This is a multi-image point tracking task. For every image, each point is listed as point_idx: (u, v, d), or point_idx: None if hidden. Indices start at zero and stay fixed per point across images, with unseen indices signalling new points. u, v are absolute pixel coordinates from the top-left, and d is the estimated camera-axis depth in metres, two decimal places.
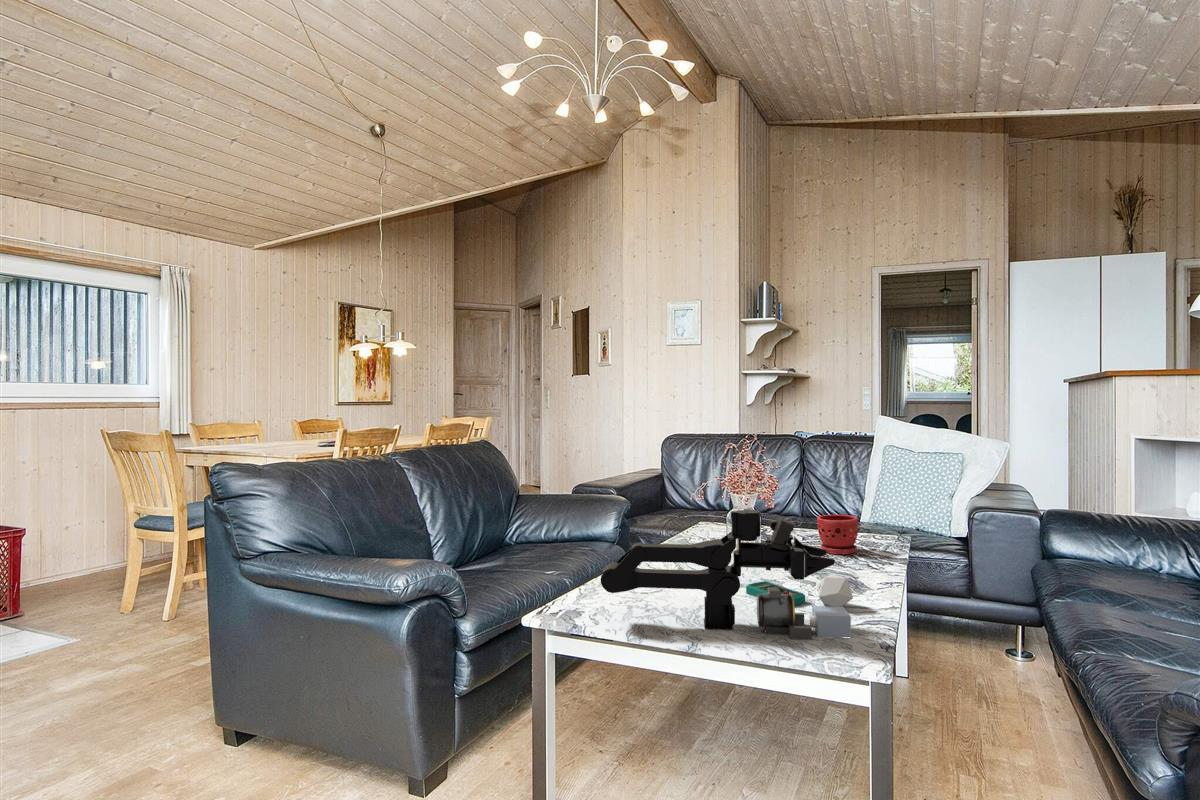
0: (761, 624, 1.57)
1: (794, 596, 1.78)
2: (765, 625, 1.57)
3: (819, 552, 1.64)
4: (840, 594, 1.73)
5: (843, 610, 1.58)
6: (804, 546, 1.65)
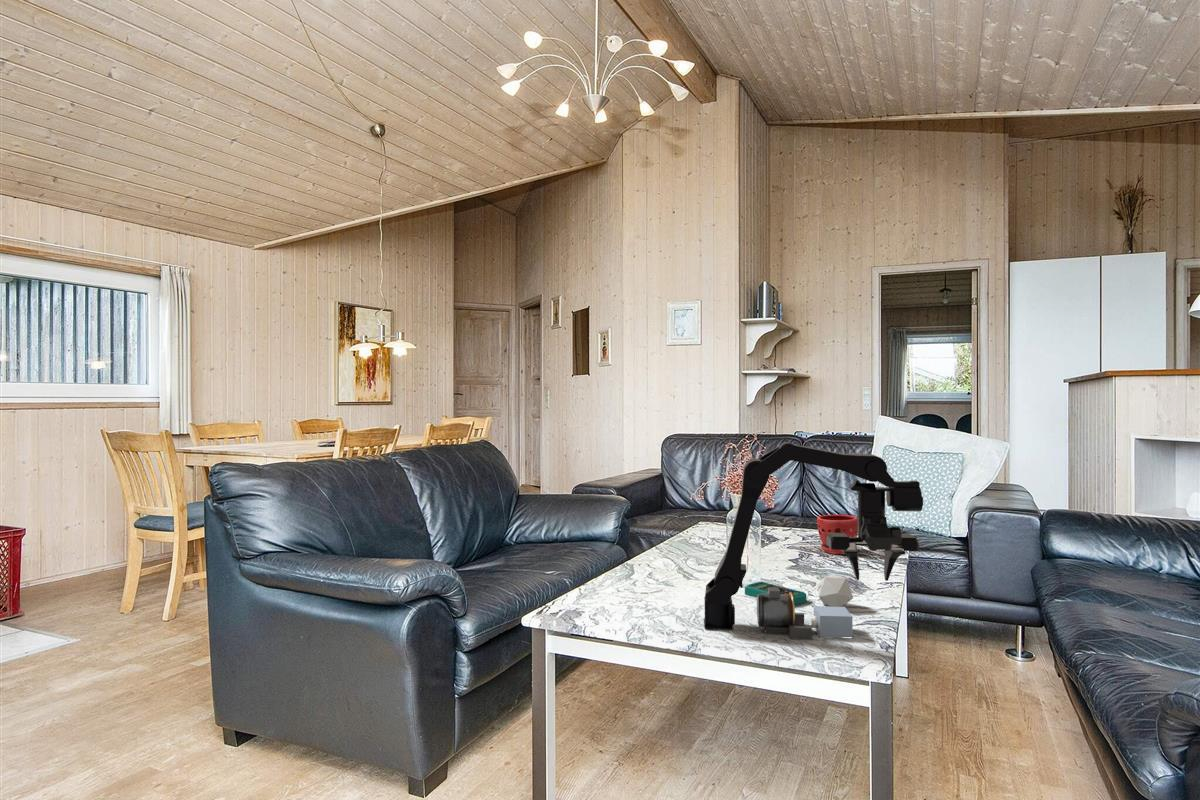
0: (761, 624, 1.57)
1: (797, 595, 1.79)
2: (765, 625, 1.57)
3: (885, 573, 1.56)
4: (840, 594, 1.73)
5: (844, 610, 1.58)
6: (888, 559, 1.55)
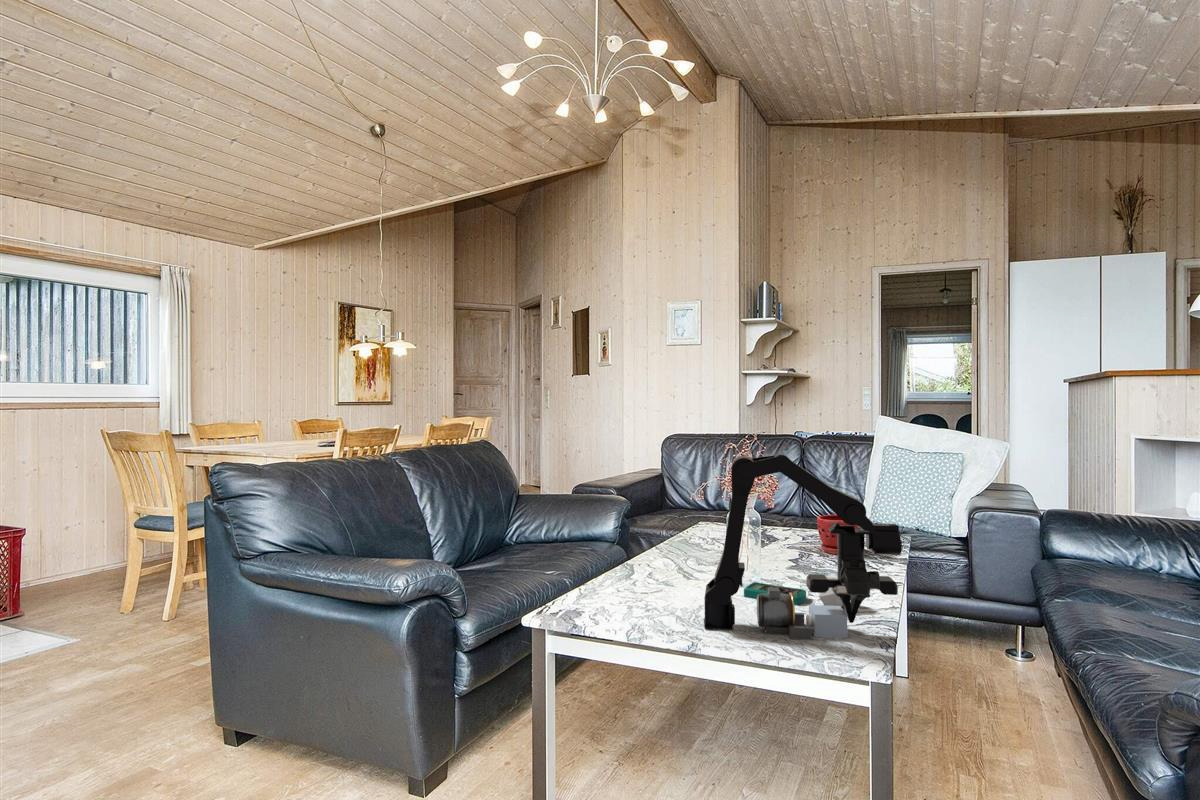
0: (761, 624, 1.57)
1: (802, 593, 1.81)
2: (765, 625, 1.57)
3: None
4: None
5: (839, 609, 1.58)
6: (854, 602, 1.56)
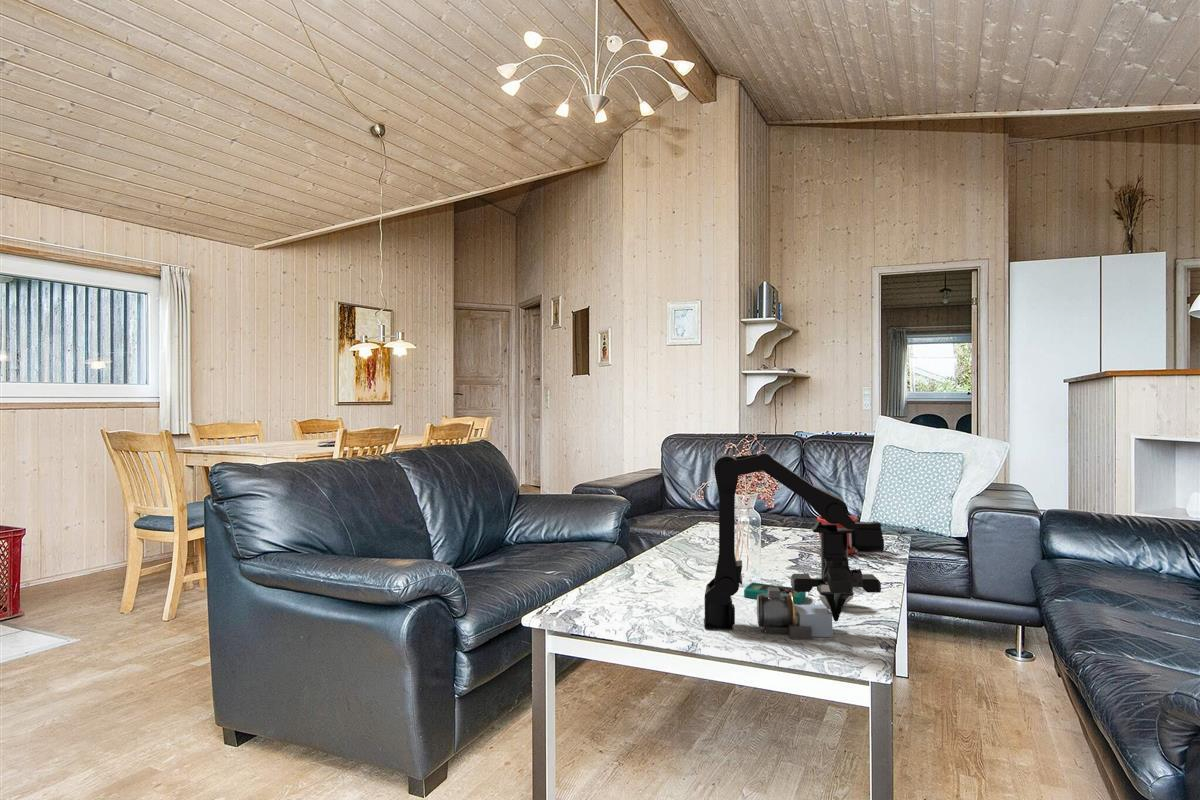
0: (761, 624, 1.57)
1: (802, 592, 1.82)
2: (765, 625, 1.57)
3: None
4: None
5: (824, 608, 1.58)
6: (838, 600, 1.56)
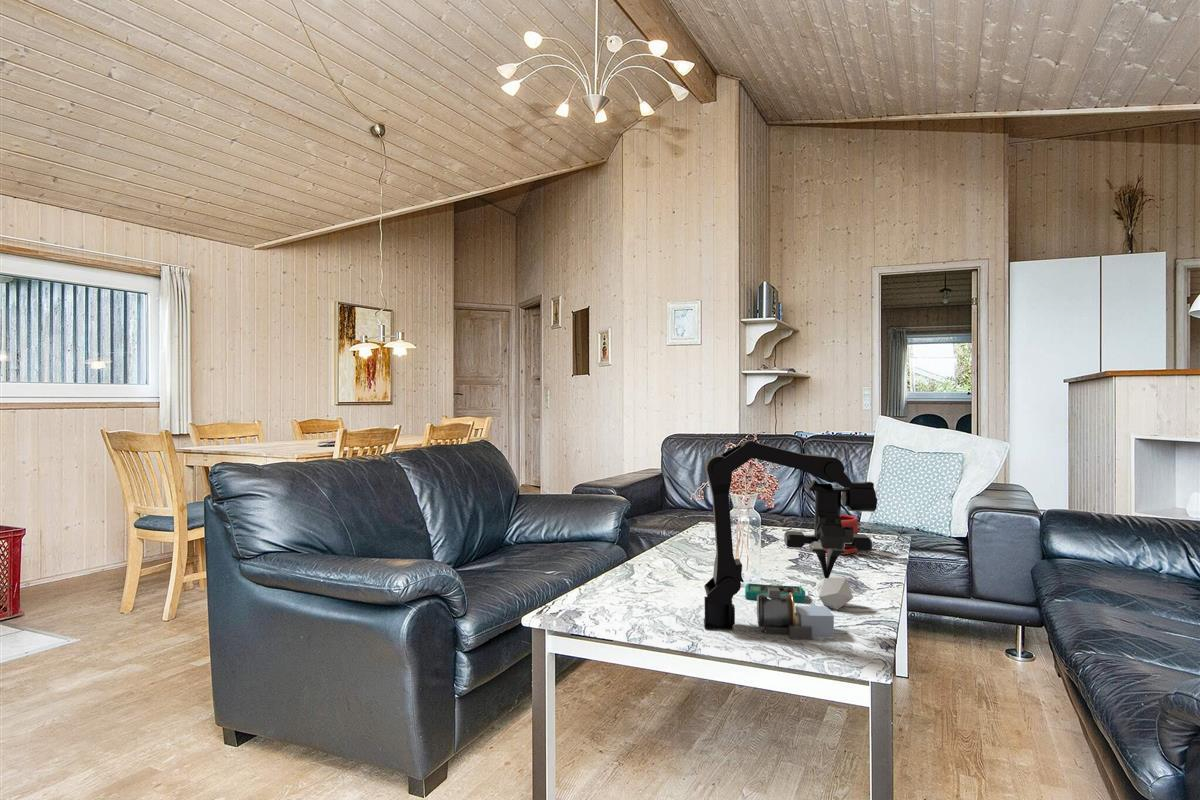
0: (761, 624, 1.57)
1: (803, 590, 1.83)
2: (765, 625, 1.57)
3: None
4: (840, 594, 1.73)
5: (826, 610, 1.58)
6: (830, 557, 1.60)
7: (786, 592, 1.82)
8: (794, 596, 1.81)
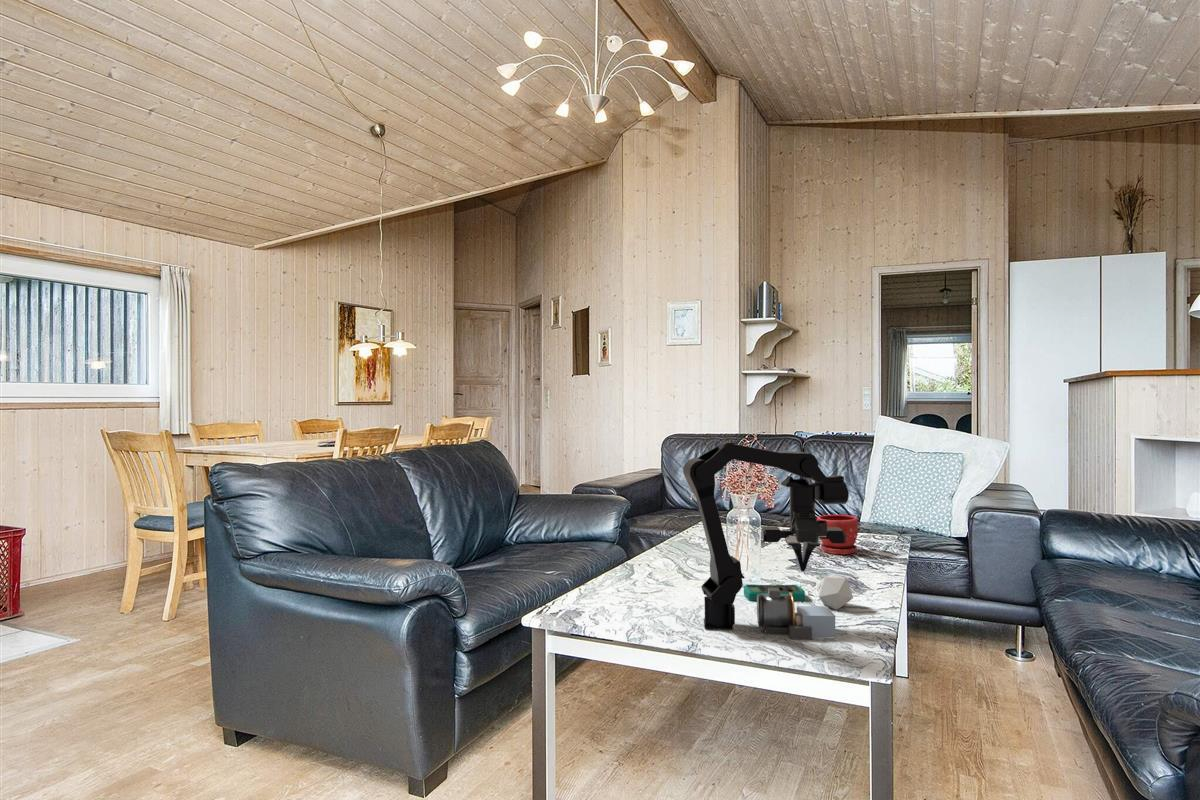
0: (761, 624, 1.57)
1: (801, 588, 1.85)
2: (765, 625, 1.57)
3: None
4: (840, 594, 1.73)
5: (827, 610, 1.58)
6: (805, 551, 1.64)
7: (787, 591, 1.83)
8: (796, 595, 1.82)
